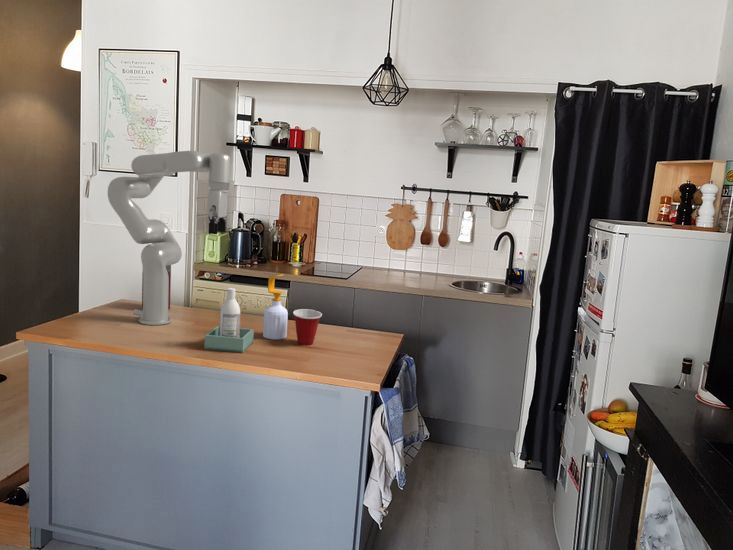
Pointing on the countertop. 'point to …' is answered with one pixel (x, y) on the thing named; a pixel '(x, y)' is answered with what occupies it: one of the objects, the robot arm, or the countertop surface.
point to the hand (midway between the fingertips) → (217, 232)
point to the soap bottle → (275, 315)
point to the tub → (229, 341)
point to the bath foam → (230, 316)
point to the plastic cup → (306, 325)
